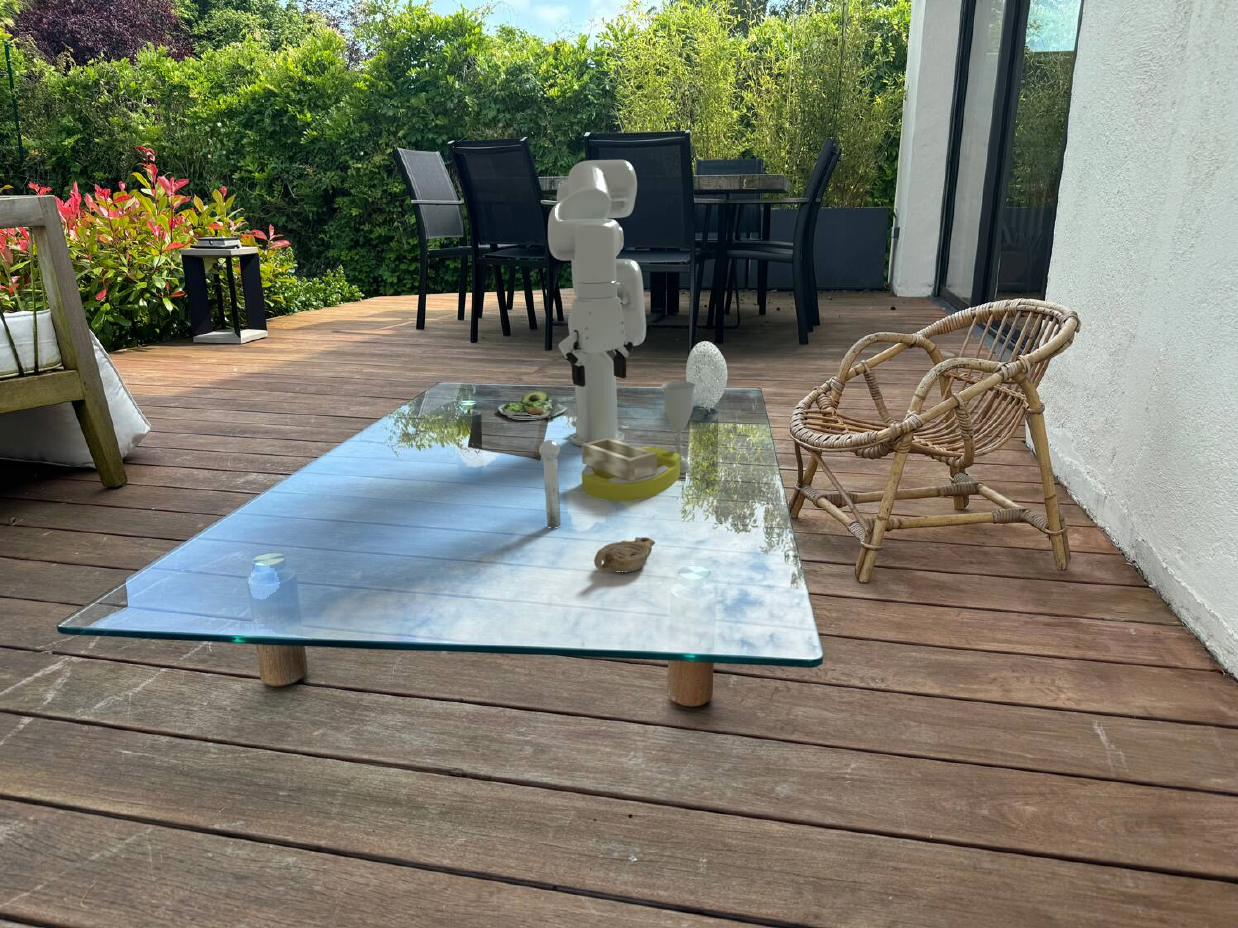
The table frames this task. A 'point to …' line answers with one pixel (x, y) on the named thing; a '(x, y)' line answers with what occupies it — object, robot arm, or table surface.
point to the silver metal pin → (551, 481)
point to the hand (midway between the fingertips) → (599, 381)
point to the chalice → (679, 412)
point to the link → (619, 458)
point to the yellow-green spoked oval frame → (624, 490)
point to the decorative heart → (706, 373)
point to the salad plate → (534, 406)
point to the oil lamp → (624, 555)
